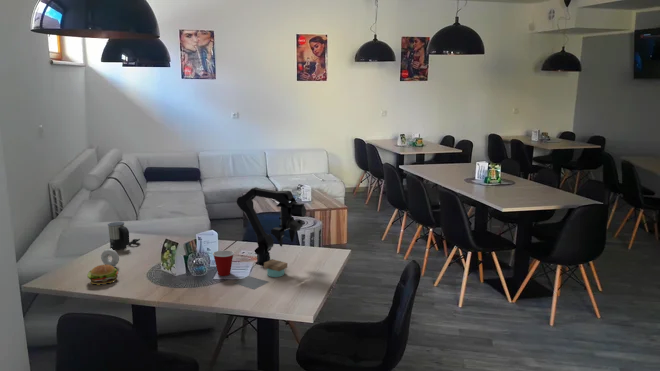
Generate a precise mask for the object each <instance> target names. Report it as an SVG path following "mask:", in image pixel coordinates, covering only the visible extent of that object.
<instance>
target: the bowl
mask: <svg viewBox="0 0 660 371" xmlns="http://www.w3.org/2000/svg"><path fill="white" fill-rule="evenodd" d="M266 274H267V276H269V277H271V278H279V277H282V276H284V275H285V269H283V270H281V271H276V270H272V269H268V268H266Z"/></svg>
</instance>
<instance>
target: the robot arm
mask: <svg viewBox="0 0 660 371" xmlns="http://www.w3.org/2000/svg"><path fill="white" fill-rule="evenodd" d="M256 197H258V198H259V197H260V198H263V199H264V198H265V199H271V200H275V202H278V204H277V205H276V207H277V208H280V217H279V218H278V219H279V220H280V224H279V225H278V226H279V227H276V226H275V227H273V228H271V229H270V233H269V234H267V233H266V231H265V229H264V227H263V225H262V223H261V221H260V219H259V217H258V215H257V213H256V211H255V208H254V201H253V200H254V199H255V198H256ZM236 204H237V206H238V207H239V209H240V210H241V211H242V212H244V213H245V215H246V218H247V219H248V221H249V223H250V225H251V228H252V230H253V232H254V233H255V236H256V243H257V247H256V248H255V249H254V253H255V255H256V259H257V260H256V262H255V264H256V265H260V266H264V263H265V262H267V261H269V260H271V256H270V251H271V250H272V248H273V247H274V245H275V243H274V239H273V237H272V236H274V237H275V239H276V240H277V243H278V244H279V246H280V247H283V242H284V236H285V232H286V231H288V233H289V238H290V242H291V243H293V242H294V239H295V237H296V234H297V232H298V231H300V230H301V228H302V227H303V224H304V223H303V220H302V219H299V220H296V219H295V217H298V218H305V216H306V214H307V208H306V206H305V203H298V201H297V199H295V197H294V194H293V193H292V191H291V190H280V191H279V190H277V191H276V190H270V189H265V188H259V187H257V186H256V187H252V188H250V190H248V191H247V192H246V193H244V194H242V195H241V196H238V197H237V199H236Z"/></svg>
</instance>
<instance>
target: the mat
mask: <svg viewBox="0 0 660 371" xmlns="http://www.w3.org/2000/svg"><path fill="white" fill-rule="evenodd" d="M268 283H269V281H268V280H264V279H261V278H257V277H253V276H251V275H250V276H249V275H247V276H244V277H243V278H239V280H237V281H234V282H233V284H234V285H238V286H240V287H244V288H248V289H251V290H256V289H258V288H260V287H263V286H264V285H266V284H268Z"/></svg>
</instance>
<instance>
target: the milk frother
mask: <svg viewBox="0 0 660 371" xmlns="http://www.w3.org/2000/svg"><path fill="white" fill-rule="evenodd" d="M107 226H108V235H109V236H108V237H109V249H110V248H112V249H117V250H123V249H126V248H127V247H126V246H129V245H131V244H134V243H135V244H136V243H138V242H139V241H141V238H138V239H137V238H134V239H132V240H131V241H130V231H129V229H128V228H127V227H126V226H125V222H124V221H114V222H109V223H107ZM122 248H123V249H122Z"/></svg>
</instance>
